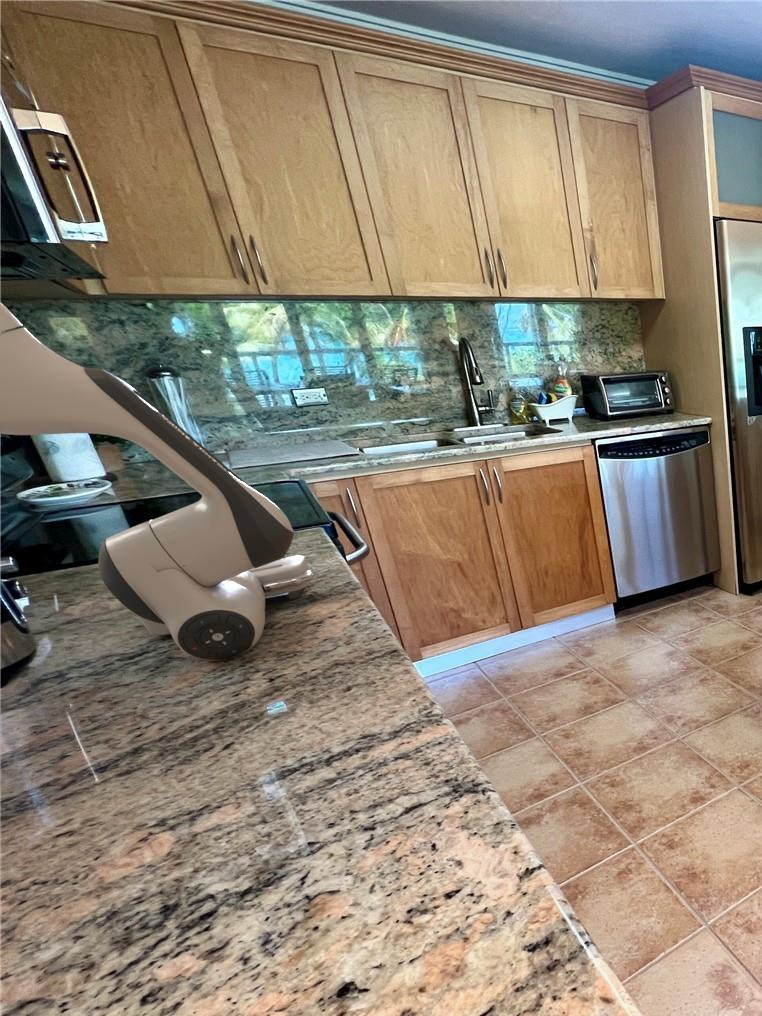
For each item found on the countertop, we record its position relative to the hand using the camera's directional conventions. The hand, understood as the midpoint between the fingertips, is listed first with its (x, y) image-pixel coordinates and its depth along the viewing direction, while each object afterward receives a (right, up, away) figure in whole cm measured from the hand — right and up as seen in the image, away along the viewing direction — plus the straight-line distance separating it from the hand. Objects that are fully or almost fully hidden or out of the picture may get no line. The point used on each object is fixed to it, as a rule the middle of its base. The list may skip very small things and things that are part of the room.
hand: (228, 571), depth 99 cm
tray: (+1, -5, +2) cm, 5 cm away
